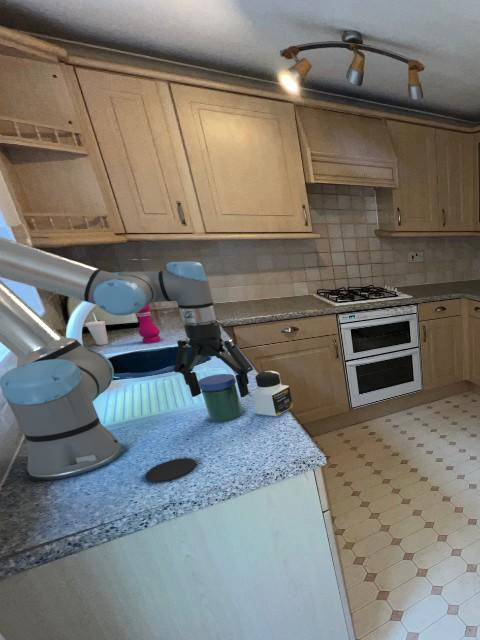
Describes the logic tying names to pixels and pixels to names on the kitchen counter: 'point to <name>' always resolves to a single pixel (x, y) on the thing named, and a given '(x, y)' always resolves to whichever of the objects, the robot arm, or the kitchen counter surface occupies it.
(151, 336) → the pepper mill
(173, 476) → the rubber mat
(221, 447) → the kitchen counter surface
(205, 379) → the jam lid
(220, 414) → the jam jar
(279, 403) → the medicine bottle
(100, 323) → the smoothie
